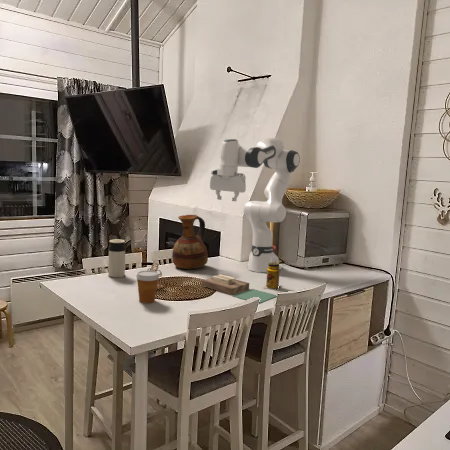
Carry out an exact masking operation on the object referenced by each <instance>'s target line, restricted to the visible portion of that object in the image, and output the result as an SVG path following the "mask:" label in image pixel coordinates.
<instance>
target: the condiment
mask: <svg viewBox="0 0 450 450" xmlns="http://www.w3.org/2000/svg"><path fill="white" fill-rule="evenodd" d="M279 265H280V263H279V264H278V263H269V264H268V269H267V272H266V284H265V286H264V287H263V288H264V289H268V288H269V290H273V289H274V290H276V289H277V290H276V291H280V289H281V287H283V285H280V273H281V271H280V270H281V269H280V270H279ZM279 285H280V286H279ZM278 286H279V288H280V289H278Z"/></svg>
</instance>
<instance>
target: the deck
mask: <svg viewBox="0 0 450 450" xmlns="http://www.w3.org/2000/svg"><path fill="white" fill-rule="evenodd" d="M201 285H203V286H206V287H208V288H211V289H214V290H213V291H215V290H216V291H215V292H219V293H222V294H226V295H229V296H233V295H236V294H239V293H242V292H245V291H248V290H250V282H247V281H243V280H240V279H236V278H235V282H234V283H231V284H224V283H220V282H216V281H213V277H209V278H206V279H205V278H204V279H202V280H201V284H200V286H201ZM208 288H207V289H208ZM211 289H210V290H211Z"/></svg>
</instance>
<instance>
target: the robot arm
mask: <svg viewBox="0 0 450 450" xmlns="http://www.w3.org/2000/svg"><path fill="white" fill-rule="evenodd" d="M255 145H256V146H254V147H243V146H241V145H240V143H239V140H238V139H236V138H229V139H228V138H227V139H225V140H223V141H222V143H221V148H220V157H219V158H220V165H219V168H216V169H212V170H211V173H210V174H211V177H210V180H209V181H210V182H209V188H210V190H212V191H215V194H216V196H217V198H216V199H217V201H218V200H222V195H221V192H222V191H223V192H233V194H234V196H233V197H232V198H231V201H232V202H237V199H238V197H239V195H240V194H241V193H245V192H246V190H247V185H246V183H247V182H246V178H247V177H246V175H245V174H244V173H243V172H238V167H241V168H242V167H243V168H251V169H252V168H253V169H258V168H260V167H261V166H262V165H264V167H265V168H266V169H267V168H268V169H275V171H274V173H273V174H272V176H271V177H270V179H269V181H268V182H267V185H266V186H265V188H264V191H263V192H264V196H265V198H266V199H267V200H266V201H262V200H250V201H246V203H245V205H244V207H243V213H244V216H245V217H246V218H247V220H248V221H249V223H250V227H251V229H252V243H251V247H250V251H251V252H249V257H248V263H247V264H246V267H247V269H248V270H249V271H251V272H256V273H267V269H268V264H269V263H278V264H279V270H282V269H283V266H282V265H280V258H279V257H278V255H277V254H275V252H274V250H276V248H277V247H276V245H273V231H272V229H270V228H269V227H268V226H267V223H281V222H283V221H284V219H286V215H287V210H286V207H285V206H284V205H283V197H284V196H285V193H286V191H287V189H288V187H289V184H290V182H291V177H292V174H291V173H293V172H295V170H296V169H297V168H298V166H299V165H300V162H301V161H300V160H301V158H300V154H299V152H298V151H296V150H292V149H291V150H288V149H284V148H285V145H284V142H283V141H282V140H281V138H277V137H270V138H265V139H262V140H260V141H258V142H257V143H256V144H255Z"/></svg>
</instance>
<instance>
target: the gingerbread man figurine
mask: <svg viewBox="0 0 450 450" xmlns="http://www.w3.org/2000/svg"><path fill="white" fill-rule="evenodd" d="M146 271H156V272H159V273H158V274H159V278H162V276H163V273H162V271H161V270H160V269H159V264H158V263H156V262H155V263H152V264H151V266H150V267H148V268H147V270H146ZM160 287H164V288H165V285H162V284H161V283H160V280H159V279H158V283H157V288H160Z"/></svg>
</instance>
